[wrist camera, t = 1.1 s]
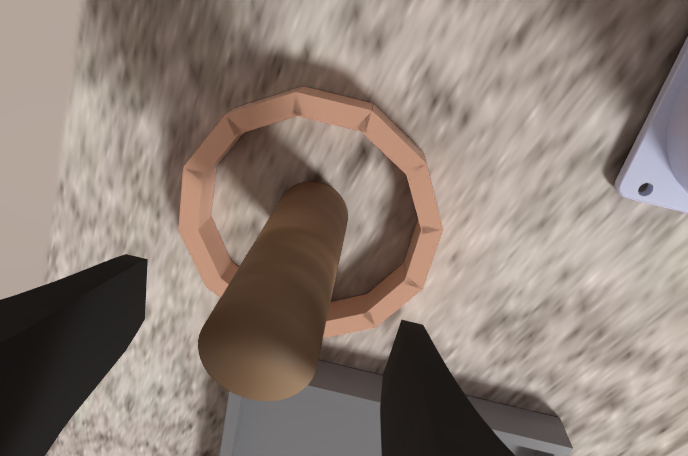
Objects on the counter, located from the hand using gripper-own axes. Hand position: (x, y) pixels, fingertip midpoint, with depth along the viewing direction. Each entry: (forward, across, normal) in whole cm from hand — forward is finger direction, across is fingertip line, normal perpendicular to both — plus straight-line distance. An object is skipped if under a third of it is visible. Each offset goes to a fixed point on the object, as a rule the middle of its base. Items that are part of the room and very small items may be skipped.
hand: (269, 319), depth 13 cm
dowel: (+8, 0, 0) cm, 8 cm away
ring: (+7, 0, 0) cm, 7 cm away
